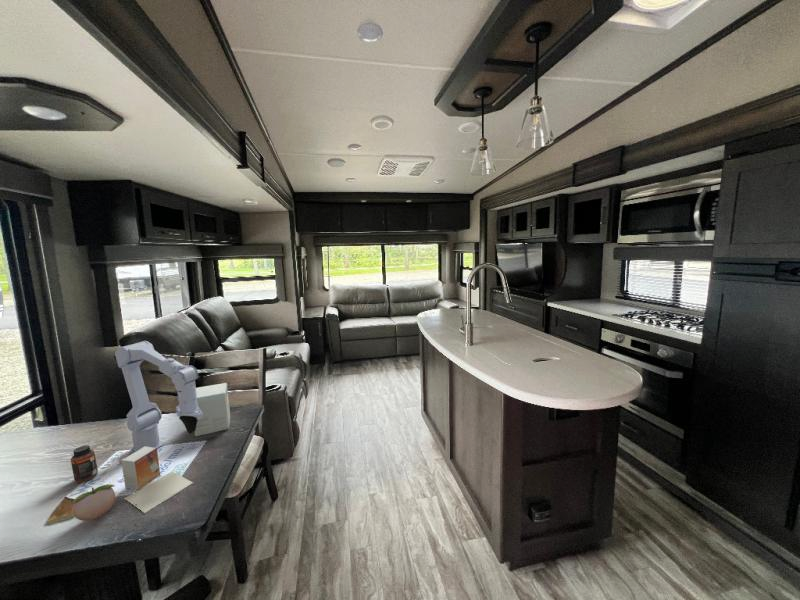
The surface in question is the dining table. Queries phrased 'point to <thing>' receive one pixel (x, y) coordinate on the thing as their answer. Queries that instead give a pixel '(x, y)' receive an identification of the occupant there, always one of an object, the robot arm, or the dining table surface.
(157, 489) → the mat
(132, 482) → the small box
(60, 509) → the tan flat wedge
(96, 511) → the decorative fruit
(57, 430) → the dining table surface
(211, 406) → the supplement box
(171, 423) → the dining table surface
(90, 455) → the supplement bottle
